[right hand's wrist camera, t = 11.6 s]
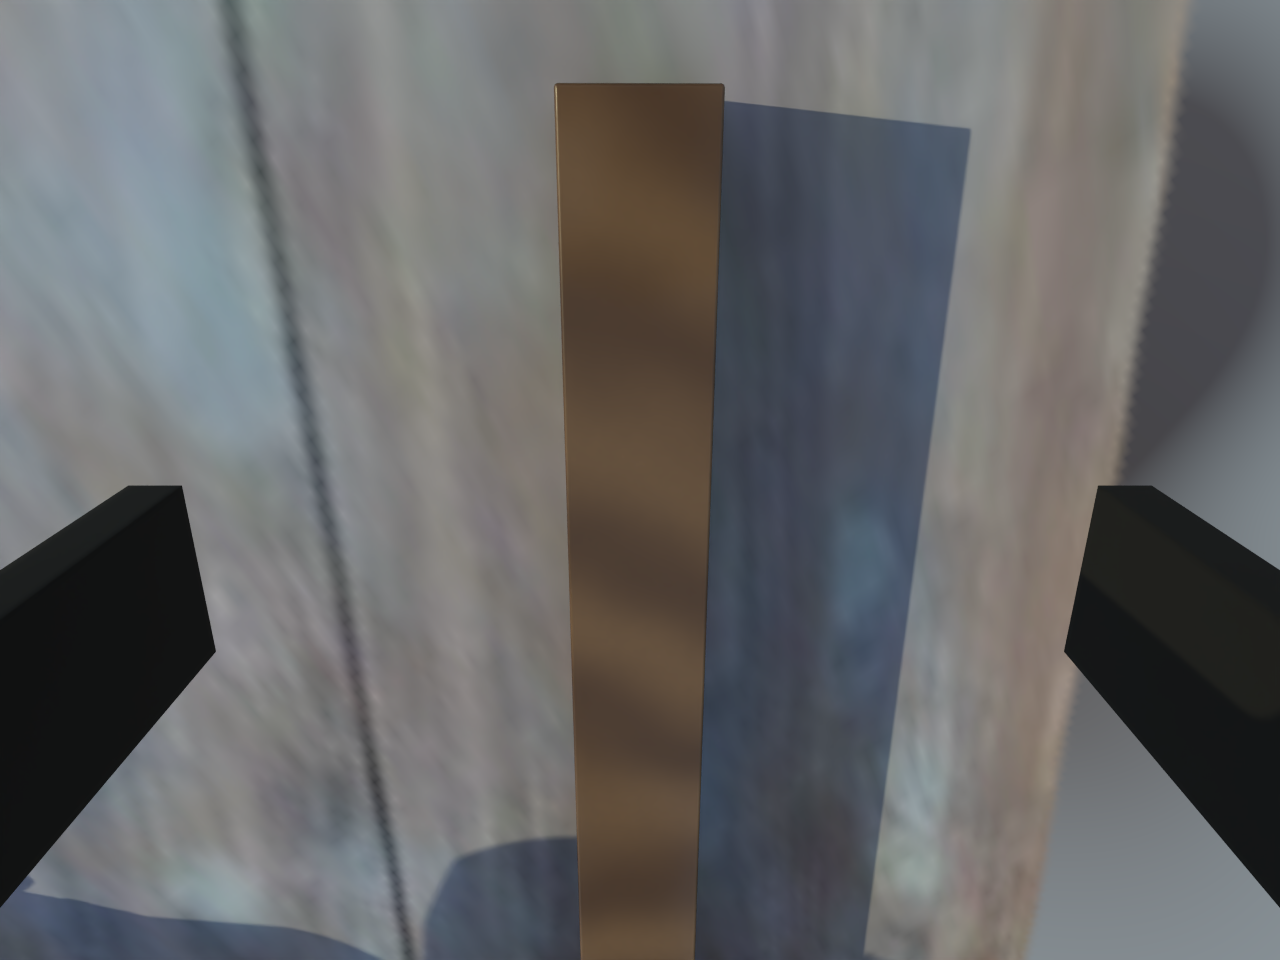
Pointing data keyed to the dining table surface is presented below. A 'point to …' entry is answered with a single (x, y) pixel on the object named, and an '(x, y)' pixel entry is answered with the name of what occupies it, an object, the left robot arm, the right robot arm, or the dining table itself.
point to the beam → (638, 492)
